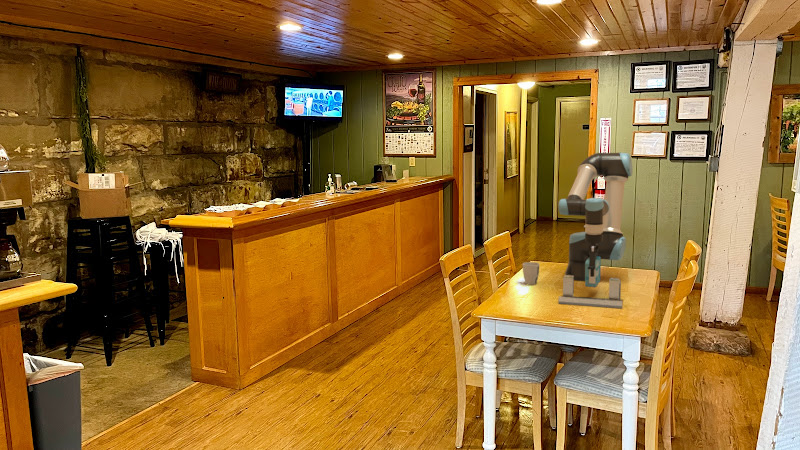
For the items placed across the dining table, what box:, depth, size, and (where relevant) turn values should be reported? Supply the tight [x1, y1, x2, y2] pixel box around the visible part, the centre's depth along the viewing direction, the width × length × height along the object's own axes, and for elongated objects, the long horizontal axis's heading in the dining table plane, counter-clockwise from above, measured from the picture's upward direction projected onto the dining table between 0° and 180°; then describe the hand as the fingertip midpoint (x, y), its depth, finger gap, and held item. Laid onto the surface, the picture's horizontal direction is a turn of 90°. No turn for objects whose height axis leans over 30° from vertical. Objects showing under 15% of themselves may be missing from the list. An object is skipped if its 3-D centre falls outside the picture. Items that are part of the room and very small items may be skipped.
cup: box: [522, 261, 540, 286], centre depth 297 cm, size 8×8×10 cm
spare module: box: [619, 280, 622, 300], centre depth 266 cm, size 5×4×8 cm
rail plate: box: [558, 274, 623, 309], centre depth 262 cm, size 10×26×11 cm, turn 69°
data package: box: [584, 256, 602, 288], centre depth 273 cm, size 12×4×12 cm, turn 151°
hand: (593, 279), depth 273 cm, fingers closed on data package, 12 cm apart
